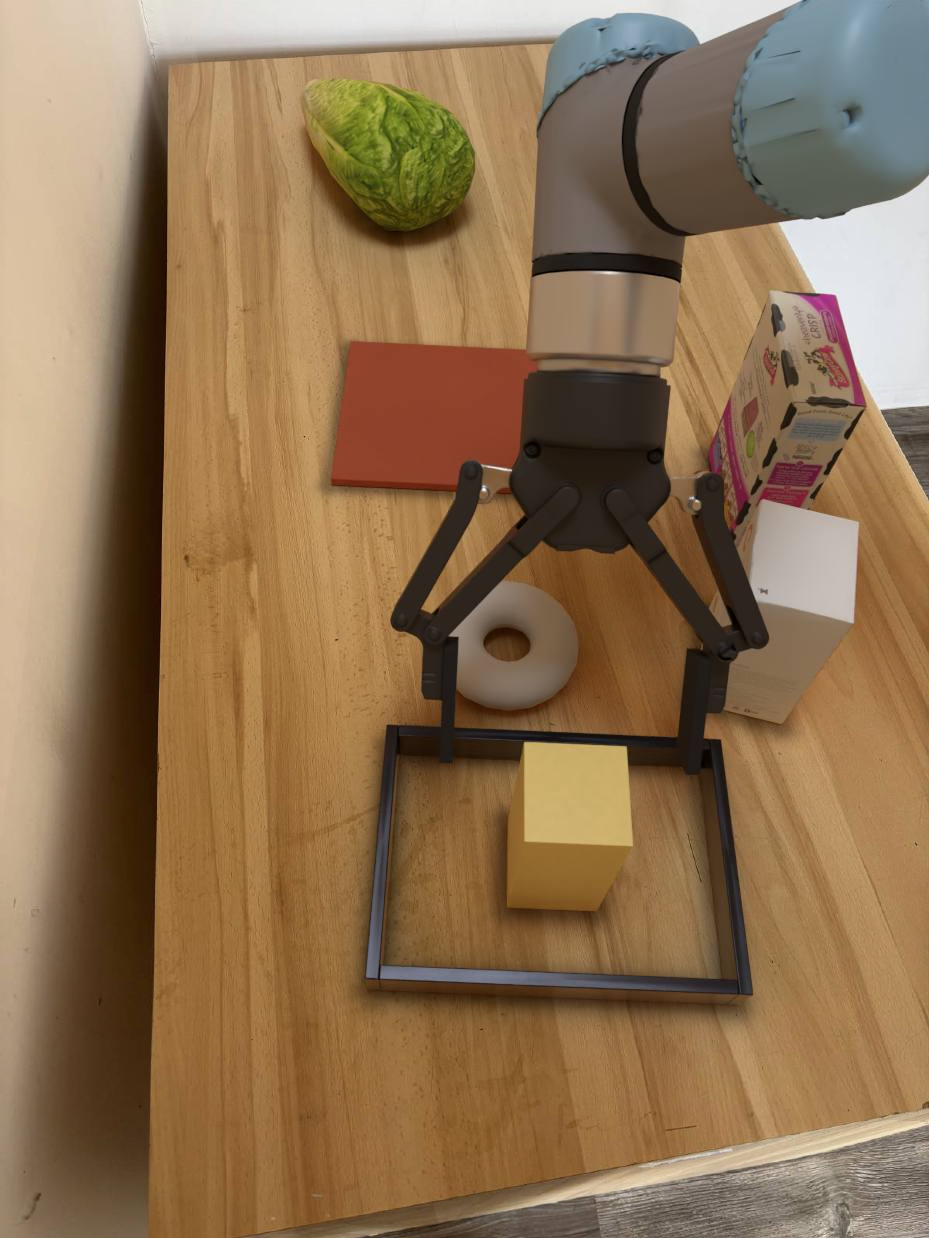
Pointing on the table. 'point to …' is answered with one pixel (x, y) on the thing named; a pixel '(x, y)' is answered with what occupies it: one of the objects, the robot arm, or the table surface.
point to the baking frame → (563, 984)
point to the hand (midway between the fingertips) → (566, 760)
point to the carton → (567, 825)
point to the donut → (531, 674)
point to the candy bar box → (787, 408)
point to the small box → (792, 605)
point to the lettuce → (390, 149)
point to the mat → (427, 413)
